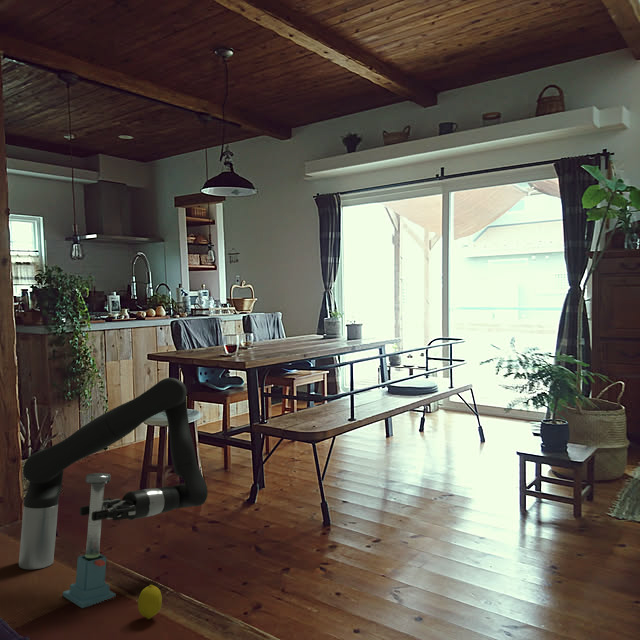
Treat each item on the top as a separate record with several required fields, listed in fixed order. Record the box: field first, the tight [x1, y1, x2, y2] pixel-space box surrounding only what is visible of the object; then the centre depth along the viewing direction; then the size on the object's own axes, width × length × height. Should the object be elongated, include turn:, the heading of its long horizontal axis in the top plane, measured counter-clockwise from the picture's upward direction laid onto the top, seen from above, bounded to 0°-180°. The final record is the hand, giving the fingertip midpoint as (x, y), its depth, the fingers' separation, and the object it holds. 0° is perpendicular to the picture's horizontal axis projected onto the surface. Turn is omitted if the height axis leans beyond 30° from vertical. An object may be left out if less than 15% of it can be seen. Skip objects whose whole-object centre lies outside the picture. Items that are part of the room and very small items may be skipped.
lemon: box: [137, 584, 163, 620], centre depth 136 cm, size 6×6×8 cm
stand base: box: [62, 553, 117, 609], centre depth 146 cm, size 10×9×10 cm
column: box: [84, 472, 111, 561], centre depth 147 cm, size 6×6×24 cm
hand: (86, 513), depth 146 cm, fingers open, 5 cm apart
